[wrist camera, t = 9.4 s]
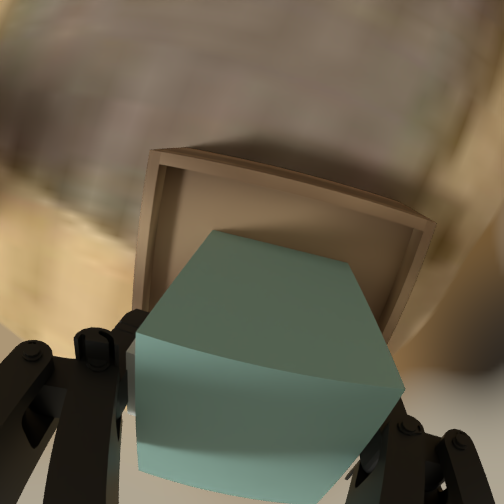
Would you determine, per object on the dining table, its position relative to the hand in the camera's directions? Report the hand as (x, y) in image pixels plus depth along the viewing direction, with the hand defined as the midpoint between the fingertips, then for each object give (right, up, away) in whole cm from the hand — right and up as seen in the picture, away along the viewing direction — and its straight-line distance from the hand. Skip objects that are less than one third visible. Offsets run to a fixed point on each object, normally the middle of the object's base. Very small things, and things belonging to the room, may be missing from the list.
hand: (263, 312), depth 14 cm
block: (0, 0, 0) cm, 0 cm away
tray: (0, +1, +4) cm, 4 cm away
